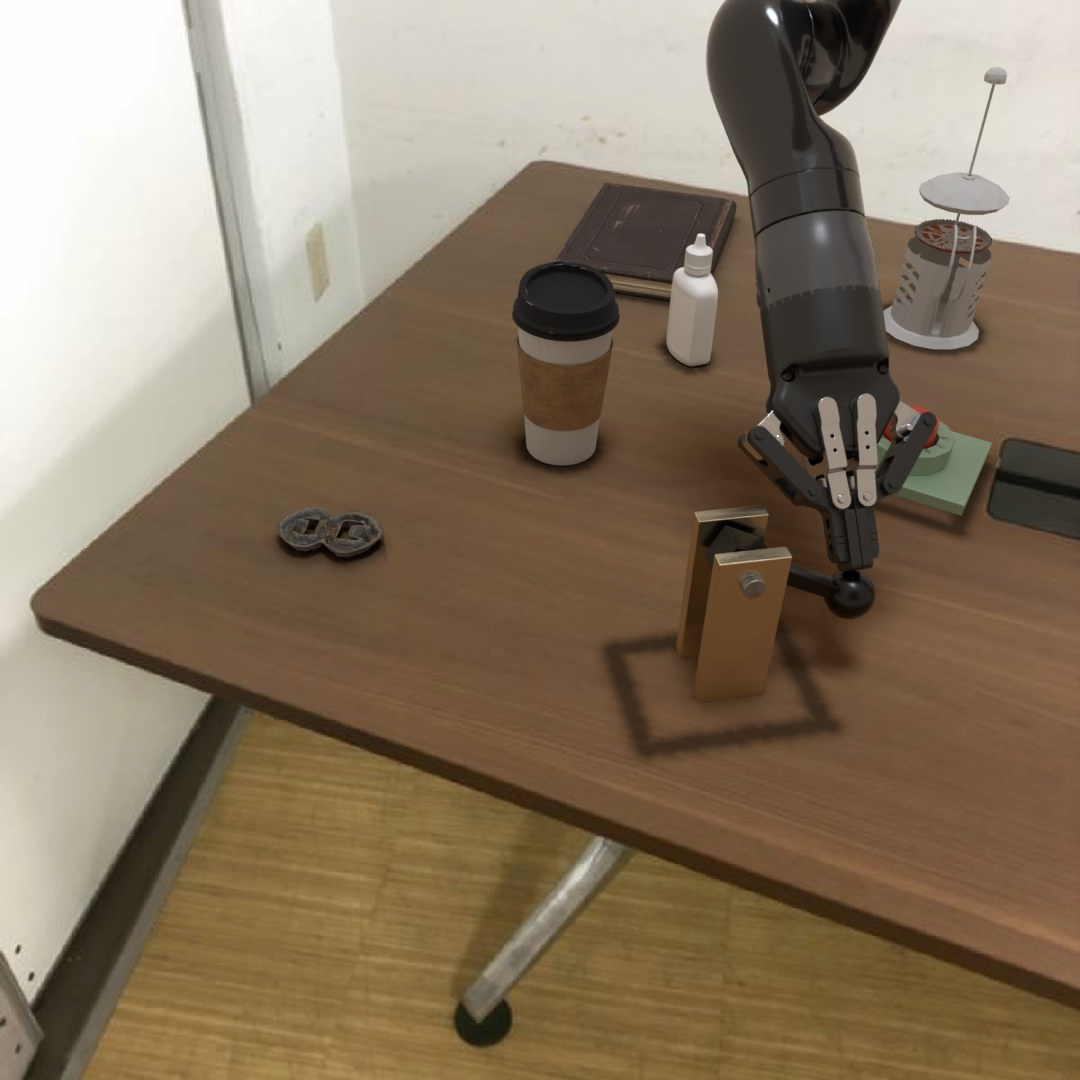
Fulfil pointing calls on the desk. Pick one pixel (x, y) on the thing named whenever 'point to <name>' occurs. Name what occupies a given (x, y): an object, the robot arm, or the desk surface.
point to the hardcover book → (646, 235)
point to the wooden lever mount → (731, 606)
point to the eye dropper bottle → (693, 307)
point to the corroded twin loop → (330, 531)
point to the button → (932, 437)
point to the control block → (943, 470)
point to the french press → (947, 258)
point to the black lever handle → (807, 577)
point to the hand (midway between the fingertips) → (856, 569)
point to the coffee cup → (564, 357)
